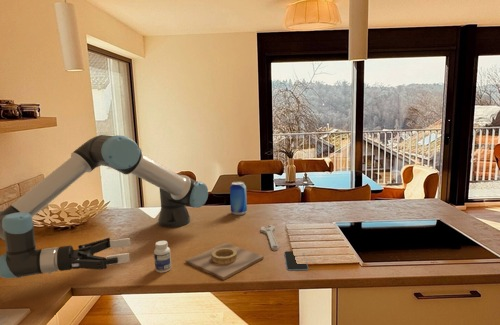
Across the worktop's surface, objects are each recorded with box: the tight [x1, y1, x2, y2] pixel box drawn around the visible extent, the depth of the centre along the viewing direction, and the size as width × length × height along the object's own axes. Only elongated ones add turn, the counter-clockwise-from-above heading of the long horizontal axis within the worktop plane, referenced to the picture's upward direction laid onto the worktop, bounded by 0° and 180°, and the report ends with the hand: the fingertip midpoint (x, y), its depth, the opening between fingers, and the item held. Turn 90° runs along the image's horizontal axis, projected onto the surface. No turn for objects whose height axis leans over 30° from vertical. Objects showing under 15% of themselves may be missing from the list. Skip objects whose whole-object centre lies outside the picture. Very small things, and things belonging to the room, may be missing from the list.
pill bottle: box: [153, 240, 172, 273], centre depth 119 cm, size 5×5×10 cm
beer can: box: [229, 181, 248, 216], centre depth 179 cm, size 8×8×16 cm
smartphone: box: [283, 250, 309, 272], centre depth 123 cm, size 7×1×15 cm
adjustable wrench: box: [260, 224, 279, 251], centre depth 145 cm, size 25×6×2 cm, turn 0°
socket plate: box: [185, 242, 264, 281], centre depth 125 cm, size 20×20×3 cm
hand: (129, 249), depth 115 cm, fingers open, 13 cm apart
